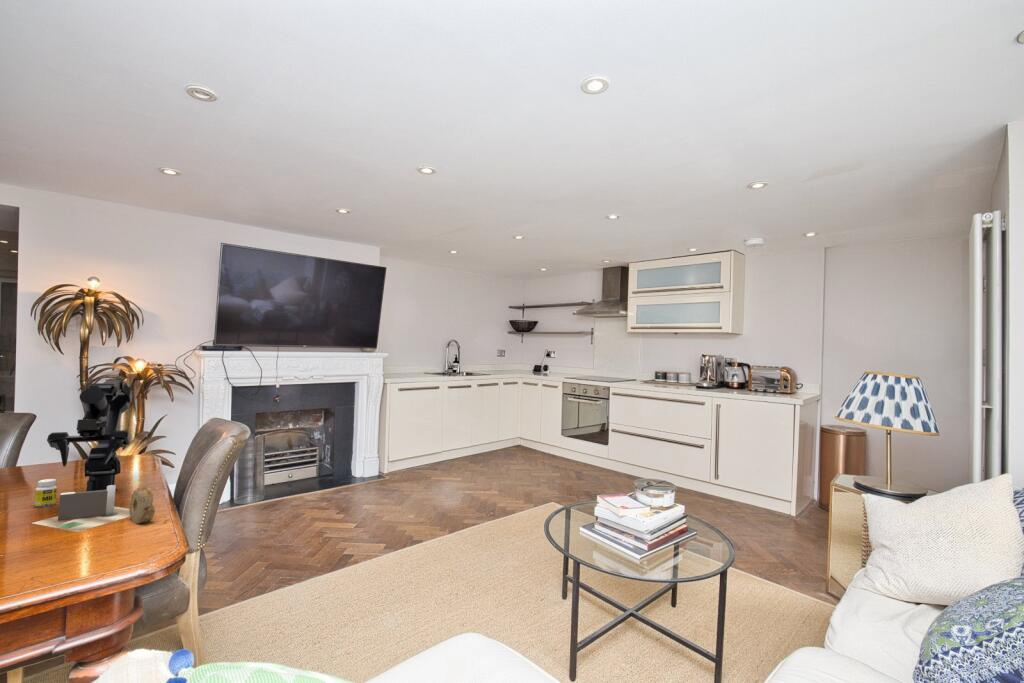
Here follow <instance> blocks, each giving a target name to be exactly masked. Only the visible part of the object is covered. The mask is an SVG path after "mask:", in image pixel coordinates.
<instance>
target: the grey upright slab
mask: <svg viewBox="0 0 1024 683" xmlns="http://www.w3.org/2000/svg"><path fill="white" fill-rule="evenodd" d="M116 486H117V485H116V484H114V485H109V486H107V490H98V491H87V492H86V491H78V492H76V491H71V492H69V491H68V492H61V493H60V494H59V502H58V503H59V505H58V515H57V516H58V521H59V520H68V519H76V518H85V517H94V516H103V515H111V514H113V511H114V507H115V499H116V498H115V497H116V491H115V489H117V487H116Z"/></svg>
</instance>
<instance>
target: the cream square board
mask: <svg viewBox="0 0 1024 683" xmlns="http://www.w3.org/2000/svg"><path fill="white" fill-rule="evenodd" d="M129 509H130V508H126V507H119V506H114V511H113V514H111V515H103V516H94V517H85V518H76V519H68V520H59V521H58V515H57V516H54V517H50V518H49V517H48V518H45V519H41V520H38V521H34V522H32V524H33V525H40V526H43V527H44V526H45V527H50V528H55V529H59V530H64V531H70V532H76V533H79V532H82V531H85V530H89V529H92V528H97V527H100V526H103V525H106V524H109V523H112V522H113V523H114V522H116V521H120V520H124V519H126V518H131V517H130V512H129Z"/></svg>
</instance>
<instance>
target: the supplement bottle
mask: <svg viewBox="0 0 1024 683" xmlns="http://www.w3.org/2000/svg"><path fill="white" fill-rule="evenodd" d="M56 483H57V480H56V479H55V478H46V479H41V480H39V481H38V482H37V487H36V488H35V490H34V491H35V492H34V501H33V508H34V509H46V508H51V507H53V506H55V505H56V500H57V490H58V487H57V485H56Z"/></svg>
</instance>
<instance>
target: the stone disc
mask: <svg viewBox="0 0 1024 683" xmlns="http://www.w3.org/2000/svg"><path fill="white" fill-rule="evenodd" d="M153 501H154V492H153V490H152V488H151V487H148V486H147V487H139V488H136V489H134V490H133V492H132V494H131V496H130V501H129V502H130V503H129V508H128V509H129V512H130V517H129V518H130V520H131V522H133V523H135V524H145V523H150V522H151V521H152V520H153V518H154V516H155V513H156V509H155V508H156V507H155V506H154V504H153Z"/></svg>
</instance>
